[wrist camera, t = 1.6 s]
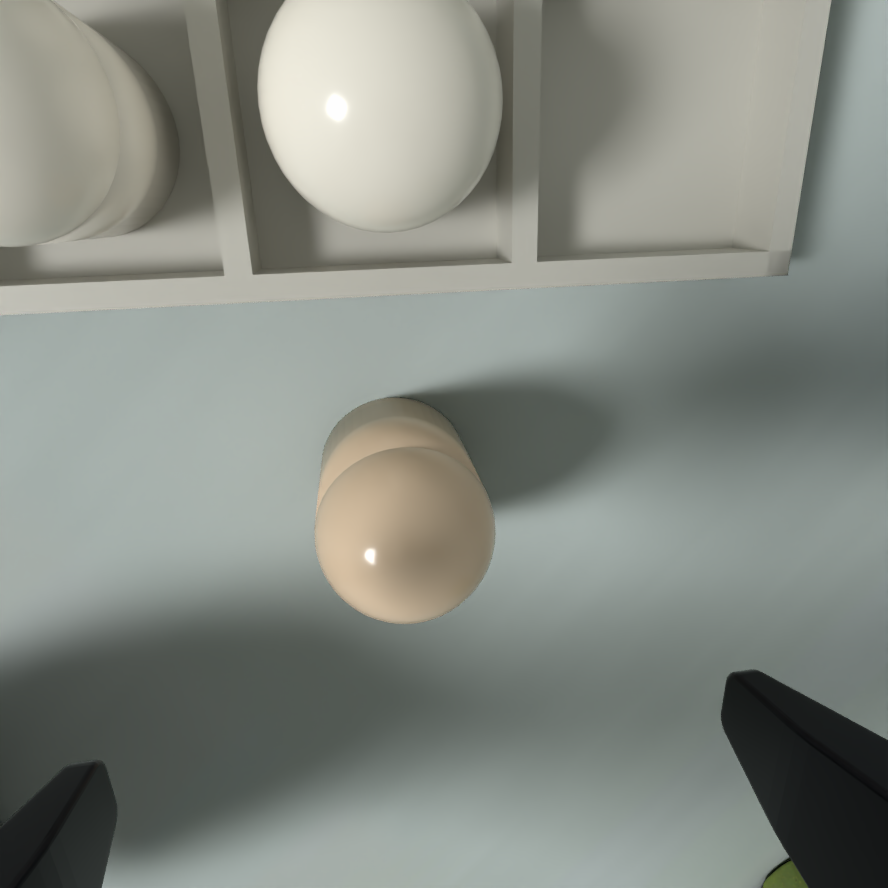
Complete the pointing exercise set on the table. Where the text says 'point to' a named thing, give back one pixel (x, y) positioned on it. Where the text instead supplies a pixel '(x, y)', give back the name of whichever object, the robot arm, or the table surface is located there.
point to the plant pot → (785, 878)
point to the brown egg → (401, 513)
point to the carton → (504, 181)
